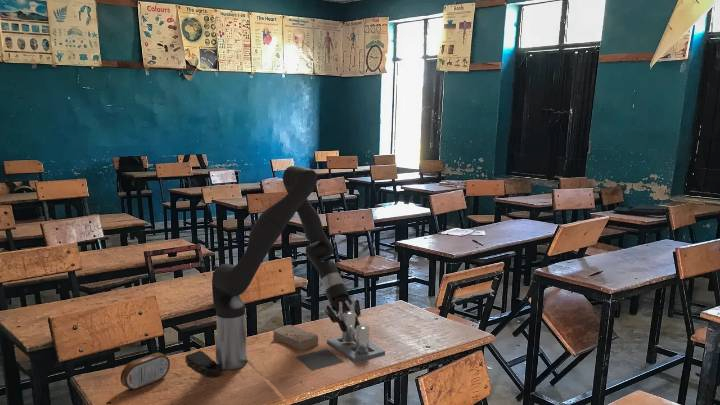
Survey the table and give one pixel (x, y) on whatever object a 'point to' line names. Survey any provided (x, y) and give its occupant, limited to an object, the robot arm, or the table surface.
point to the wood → (203, 364)
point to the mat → (319, 359)
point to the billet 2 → (362, 339)
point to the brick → (295, 337)
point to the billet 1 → (349, 326)
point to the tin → (145, 371)
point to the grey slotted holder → (349, 349)
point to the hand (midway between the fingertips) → (351, 329)
